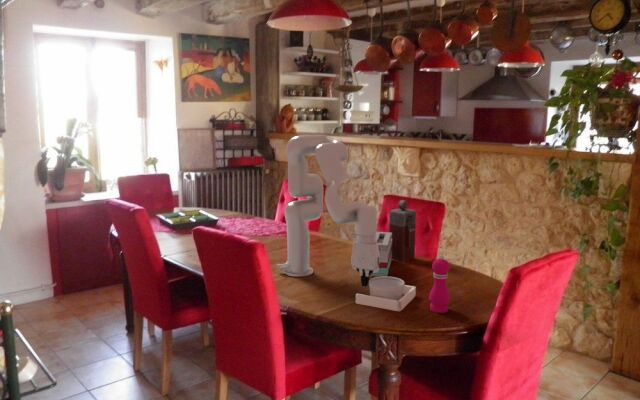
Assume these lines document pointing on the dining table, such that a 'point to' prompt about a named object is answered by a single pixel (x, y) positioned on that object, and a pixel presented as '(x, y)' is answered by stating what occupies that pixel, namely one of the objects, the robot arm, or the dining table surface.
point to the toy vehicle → (384, 253)
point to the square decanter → (403, 232)
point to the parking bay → (388, 300)
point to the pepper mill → (440, 286)
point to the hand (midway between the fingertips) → (365, 285)
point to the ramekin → (386, 287)
